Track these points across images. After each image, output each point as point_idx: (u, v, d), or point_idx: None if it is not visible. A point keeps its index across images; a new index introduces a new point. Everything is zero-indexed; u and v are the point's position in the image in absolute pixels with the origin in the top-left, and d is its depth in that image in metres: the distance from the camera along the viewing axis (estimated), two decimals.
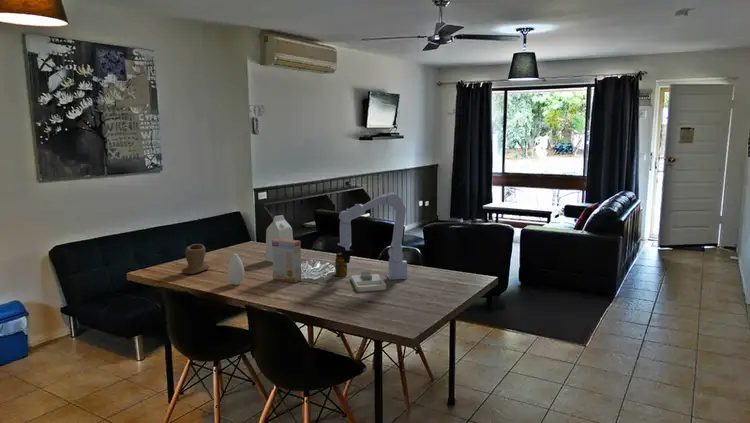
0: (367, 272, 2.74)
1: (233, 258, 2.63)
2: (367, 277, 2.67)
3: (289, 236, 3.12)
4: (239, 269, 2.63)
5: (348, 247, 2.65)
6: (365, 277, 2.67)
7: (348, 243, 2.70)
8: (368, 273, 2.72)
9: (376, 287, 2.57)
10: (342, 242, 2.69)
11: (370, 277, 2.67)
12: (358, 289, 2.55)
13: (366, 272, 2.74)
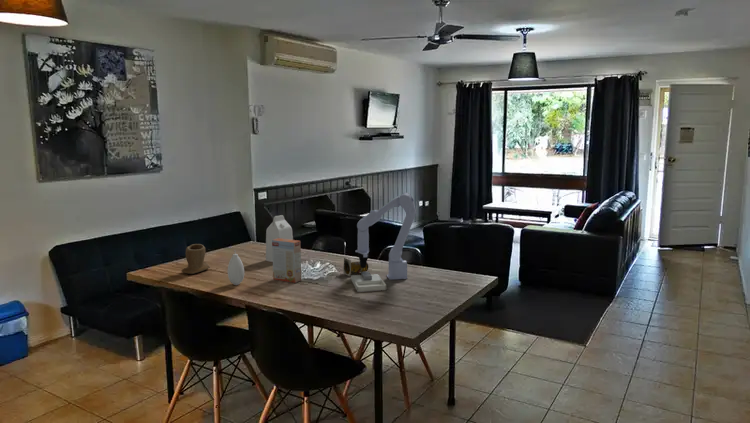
0: (367, 272, 2.74)
1: (233, 258, 2.63)
2: (367, 277, 2.67)
3: (289, 236, 3.12)
4: (239, 269, 2.63)
5: (366, 254, 2.72)
6: (365, 277, 2.67)
7: (366, 250, 2.76)
8: (368, 273, 2.72)
9: (376, 287, 2.57)
10: (360, 249, 2.76)
11: (370, 277, 2.67)
12: (358, 289, 2.55)
13: (366, 272, 2.74)
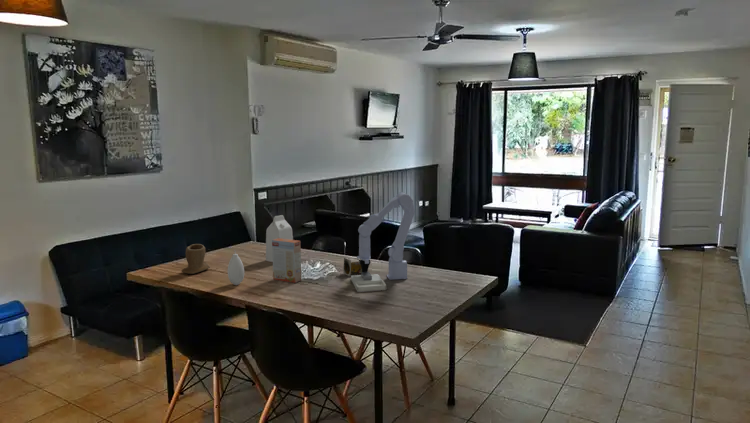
0: (367, 272, 2.73)
1: (233, 258, 2.63)
2: (367, 277, 2.67)
3: (289, 236, 3.12)
4: (239, 269, 2.63)
5: (367, 261, 2.68)
6: (365, 277, 2.67)
7: (367, 256, 2.72)
8: (368, 273, 2.71)
9: (376, 287, 2.57)
10: (361, 255, 2.72)
11: (370, 277, 2.67)
12: (358, 289, 2.55)
13: (366, 272, 2.73)
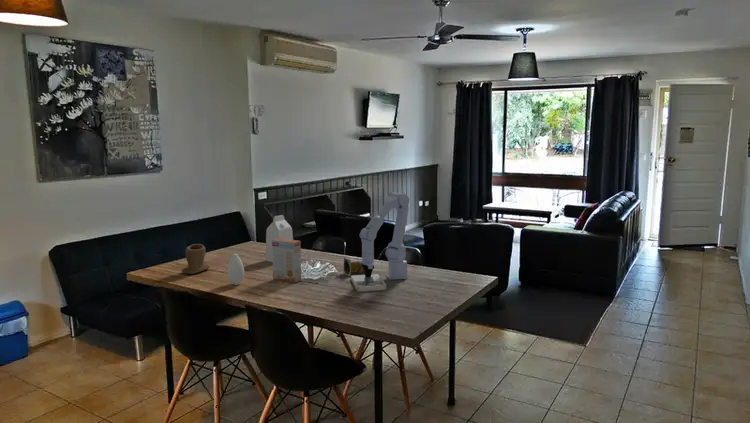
0: (371, 279, 2.64)
1: (233, 258, 2.63)
2: None
3: (289, 236, 3.12)
4: (239, 269, 2.63)
5: (371, 266, 2.58)
6: None
7: (371, 261, 2.63)
8: (372, 281, 2.62)
9: (376, 287, 2.57)
10: (364, 260, 2.63)
11: None
12: (358, 289, 2.55)
13: (370, 279, 2.64)
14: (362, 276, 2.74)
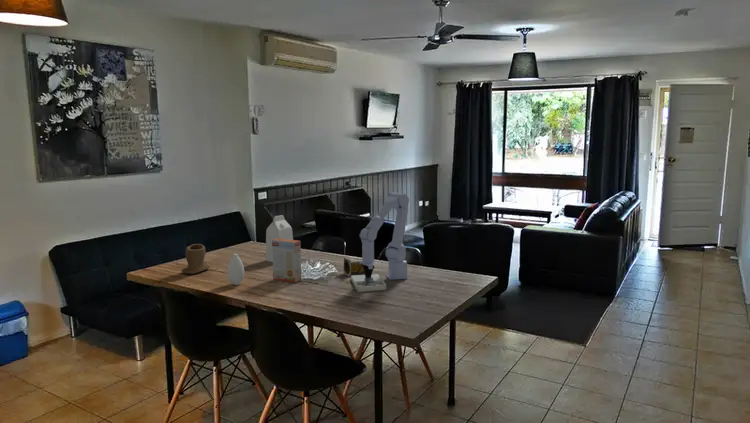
0: (371, 279, 2.64)
1: (233, 258, 2.63)
2: None
3: (289, 236, 3.12)
4: (239, 269, 2.63)
5: (371, 266, 2.58)
6: None
7: (371, 261, 2.62)
8: (372, 281, 2.62)
9: (376, 287, 2.57)
10: (365, 260, 2.62)
11: None
12: (358, 289, 2.55)
13: (370, 279, 2.64)
14: (362, 276, 2.74)
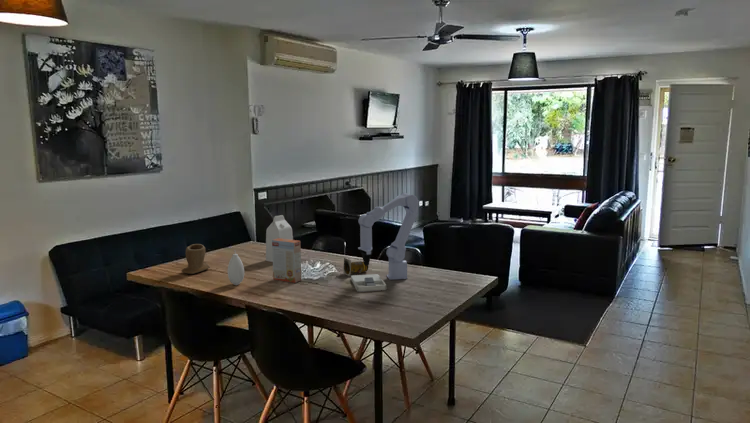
0: (371, 279, 2.64)
1: (233, 258, 2.63)
2: None
3: (289, 236, 3.12)
4: (239, 269, 2.63)
5: (369, 251, 2.62)
6: None
7: (369, 247, 2.67)
8: (372, 281, 2.62)
9: (376, 287, 2.57)
10: (363, 246, 2.67)
11: None
12: (358, 289, 2.55)
13: (370, 279, 2.64)
14: (362, 276, 2.74)
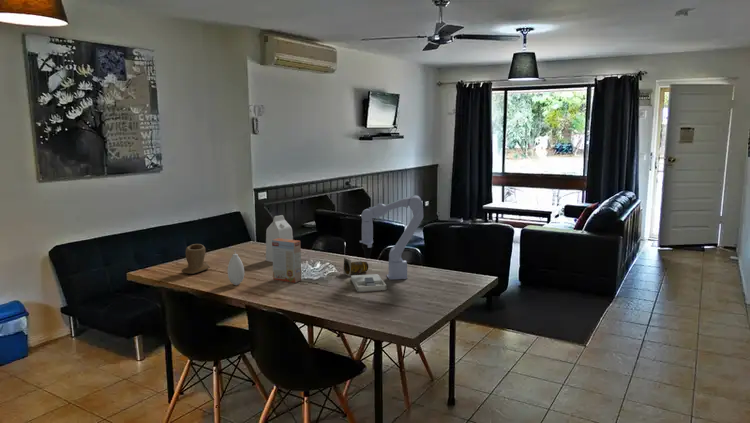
0: (371, 279, 2.64)
1: (233, 258, 2.63)
2: None
3: (289, 236, 3.12)
4: (239, 269, 2.63)
5: (370, 244, 2.70)
6: None
7: (370, 241, 2.75)
8: (372, 281, 2.62)
9: (376, 287, 2.57)
10: (364, 240, 2.75)
11: None
12: (358, 289, 2.55)
13: (370, 279, 2.64)
14: (362, 276, 2.74)
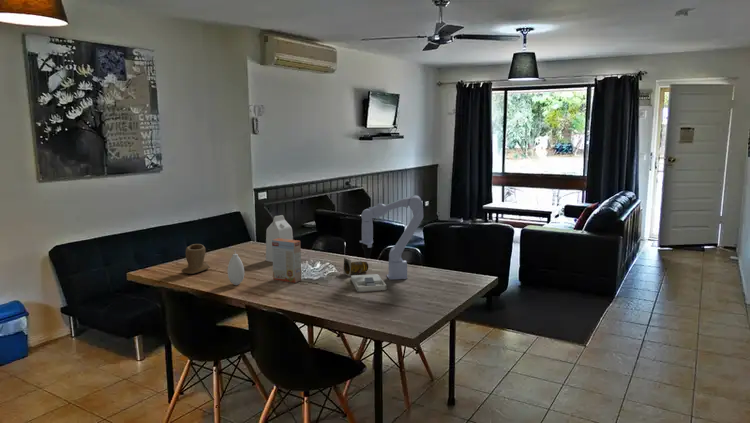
0: (371, 279, 2.64)
1: (233, 258, 2.63)
2: None
3: (289, 236, 3.12)
4: (239, 269, 2.63)
5: (370, 244, 2.70)
6: None
7: (370, 241, 2.75)
8: (372, 281, 2.62)
9: (376, 287, 2.57)
10: (364, 240, 2.75)
11: None
12: (358, 289, 2.55)
13: (370, 279, 2.64)
14: (362, 276, 2.74)
